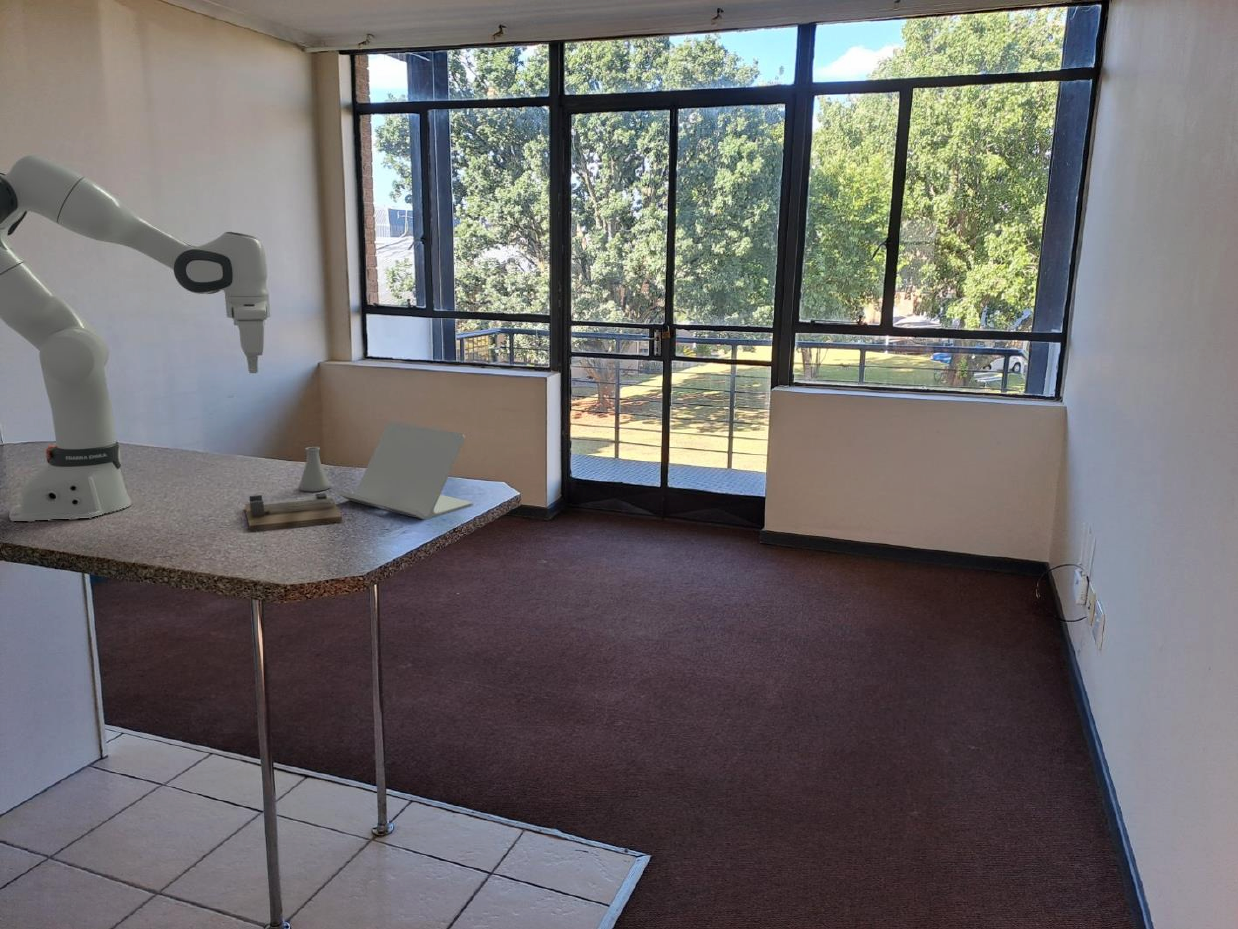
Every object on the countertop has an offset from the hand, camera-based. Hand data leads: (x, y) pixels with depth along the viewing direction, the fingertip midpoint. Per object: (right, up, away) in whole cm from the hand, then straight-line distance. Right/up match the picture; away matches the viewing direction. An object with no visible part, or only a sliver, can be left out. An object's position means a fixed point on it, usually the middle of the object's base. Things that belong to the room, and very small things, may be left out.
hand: (253, 372), depth 194 cm
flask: (+8, -26, +17) cm, 32 cm away
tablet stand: (+33, -30, +5) cm, 45 cm away
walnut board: (+11, -31, -6) cm, 34 cm away
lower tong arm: (+11, -30, -6) cm, 33 cm away
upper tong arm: (+11, -30, -6) cm, 32 cm away
